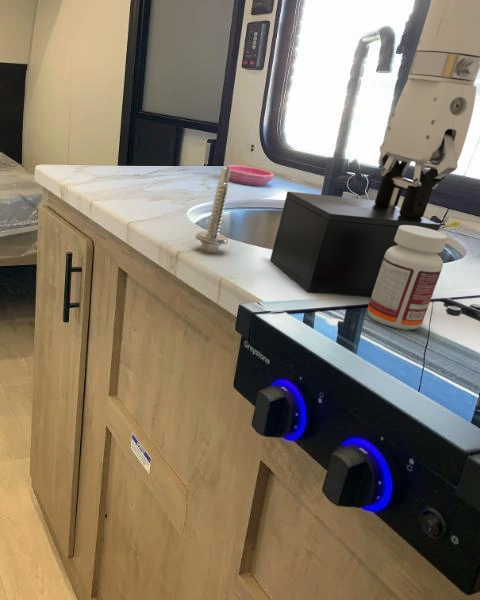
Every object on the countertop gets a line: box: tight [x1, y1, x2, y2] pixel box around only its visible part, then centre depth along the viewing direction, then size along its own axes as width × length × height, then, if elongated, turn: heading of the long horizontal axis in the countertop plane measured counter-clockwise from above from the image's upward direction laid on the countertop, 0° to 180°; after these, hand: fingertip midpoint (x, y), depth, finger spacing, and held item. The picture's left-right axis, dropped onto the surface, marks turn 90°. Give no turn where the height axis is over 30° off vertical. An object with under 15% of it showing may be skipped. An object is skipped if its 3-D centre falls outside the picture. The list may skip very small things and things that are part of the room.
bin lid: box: [285, 176, 441, 231], centre depth 81 cm, size 15×13×5 cm
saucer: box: [226, 164, 275, 187], centre depth 155 cm, size 12×12×3 cm
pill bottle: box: [366, 225, 448, 331], centre depth 71 cm, size 6×6×11 cm
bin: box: [269, 196, 398, 298], centre depth 84 cm, size 15×13×10 cm
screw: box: [195, 165, 231, 254], centre depth 89 cm, size 13×5×5 cm
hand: (398, 209), depth 82 cm, fingers closed on bin lid, 5 cm apart
